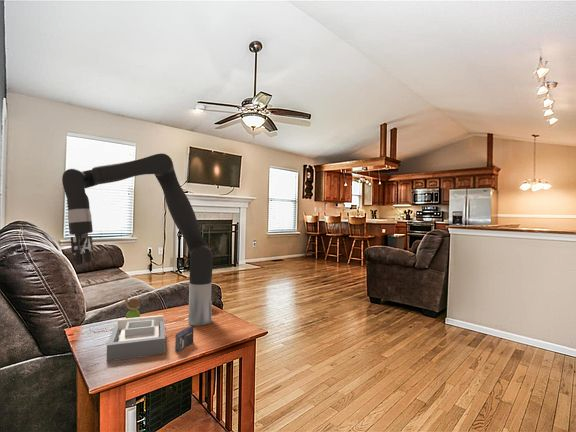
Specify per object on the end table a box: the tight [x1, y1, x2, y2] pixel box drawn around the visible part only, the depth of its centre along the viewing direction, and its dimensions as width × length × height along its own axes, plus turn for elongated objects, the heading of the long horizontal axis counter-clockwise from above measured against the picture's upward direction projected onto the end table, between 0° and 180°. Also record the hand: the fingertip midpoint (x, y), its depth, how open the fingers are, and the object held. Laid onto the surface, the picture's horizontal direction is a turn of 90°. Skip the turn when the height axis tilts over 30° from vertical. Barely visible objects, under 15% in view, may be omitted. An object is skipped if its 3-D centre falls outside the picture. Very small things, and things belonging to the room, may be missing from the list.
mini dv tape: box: [174, 325, 195, 353], centre depth 108 cm, size 8×2×6 cm, turn 163°
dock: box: [106, 320, 166, 362], centre depth 108 cm, size 17×18×5 cm
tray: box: [117, 314, 164, 342], centre depth 118 cm, size 17×17×4 cm
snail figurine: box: [123, 293, 141, 318], centre depth 131 cm, size 5×6×12 cm
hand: (84, 263), depth 118 cm, fingers open, 8 cm apart
